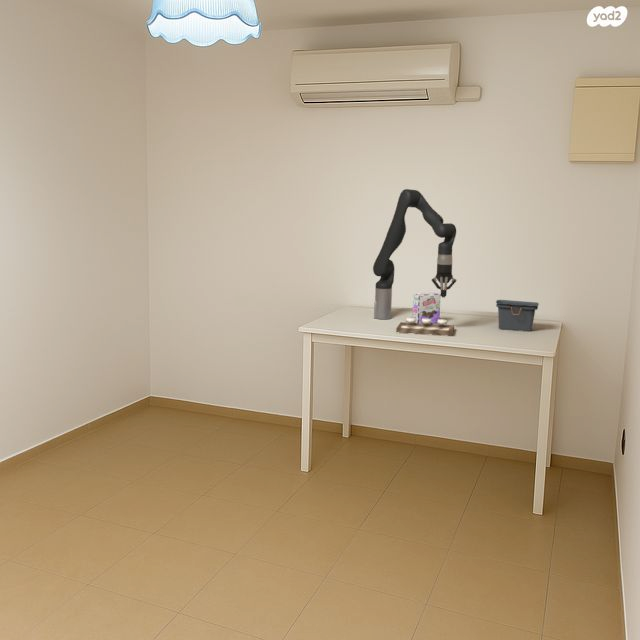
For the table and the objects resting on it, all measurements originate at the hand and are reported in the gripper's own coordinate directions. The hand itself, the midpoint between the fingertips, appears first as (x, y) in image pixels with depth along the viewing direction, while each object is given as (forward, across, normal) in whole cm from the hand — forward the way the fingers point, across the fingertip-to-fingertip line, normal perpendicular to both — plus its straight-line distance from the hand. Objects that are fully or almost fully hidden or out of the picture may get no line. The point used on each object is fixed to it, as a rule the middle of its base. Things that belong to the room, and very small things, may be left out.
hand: (443, 297), depth 342 cm
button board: (+18, +8, +3) cm, 20 cm away
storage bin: (+18, -37, -16) cm, 44 cm away
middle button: (+14, +8, 0) cm, 16 cm away
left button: (+14, +16, 0) cm, 21 cm away
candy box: (+18, +10, -20) cm, 29 cm away
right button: (+14, 0, 0) cm, 14 cm away
